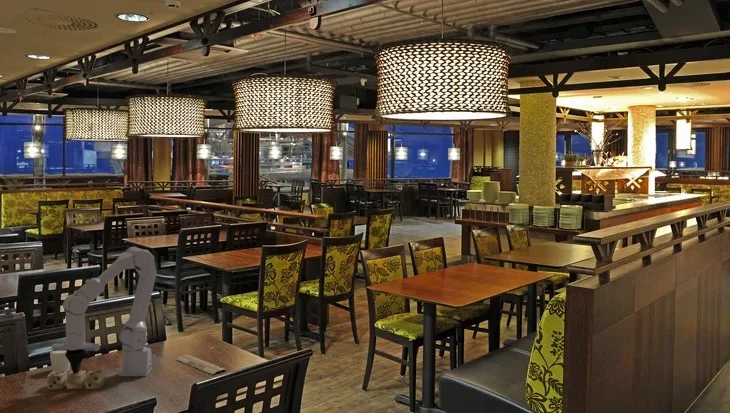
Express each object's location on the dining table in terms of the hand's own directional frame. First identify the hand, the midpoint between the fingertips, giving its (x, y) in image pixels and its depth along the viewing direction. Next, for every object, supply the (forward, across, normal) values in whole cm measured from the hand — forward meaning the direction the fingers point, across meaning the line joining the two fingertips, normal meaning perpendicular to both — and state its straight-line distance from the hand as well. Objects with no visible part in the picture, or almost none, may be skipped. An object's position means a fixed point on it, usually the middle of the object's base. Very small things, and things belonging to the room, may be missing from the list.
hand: (76, 372), depth 204 cm
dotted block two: (+5, +6, 0) cm, 8 cm away
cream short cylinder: (+5, -11, +16) cm, 20 cm away
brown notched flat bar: (+6, +37, +19) cm, 42 cm away
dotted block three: (+5, -6, 0) cm, 8 cm away
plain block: (+5, 0, 0) cm, 5 cm away
